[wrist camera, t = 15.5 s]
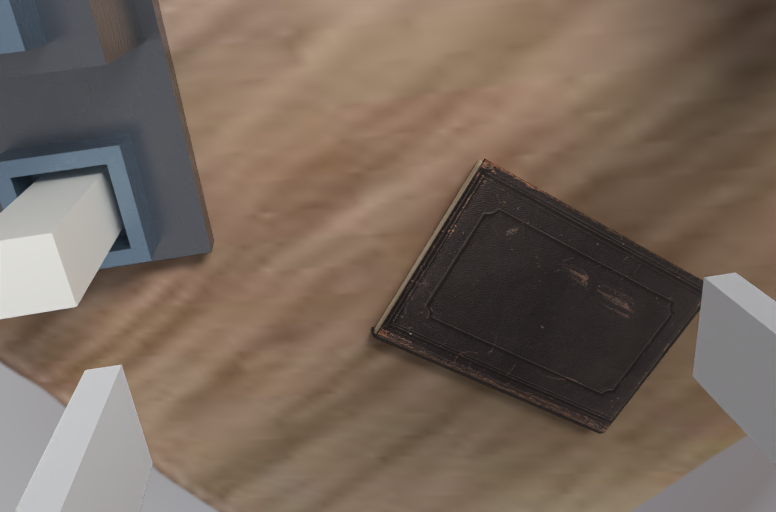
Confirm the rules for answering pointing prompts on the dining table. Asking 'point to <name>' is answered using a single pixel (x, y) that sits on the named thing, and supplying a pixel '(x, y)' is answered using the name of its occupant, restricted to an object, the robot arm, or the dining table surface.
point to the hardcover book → (539, 301)
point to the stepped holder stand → (101, 117)
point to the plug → (56, 240)
